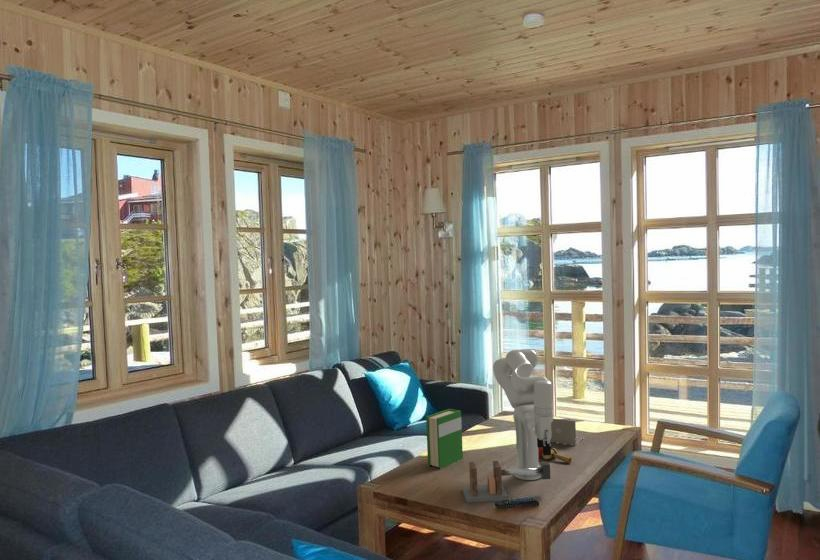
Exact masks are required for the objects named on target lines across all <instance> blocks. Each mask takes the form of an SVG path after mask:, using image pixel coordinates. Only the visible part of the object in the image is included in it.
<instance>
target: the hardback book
mask: <svg viewBox="0 0 820 560" xmlns="http://www.w3.org/2000/svg"><path fill="white" fill-rule="evenodd" d="M425 420H426V421H425V424H426V427H425V428H426V444H427V445H426V450H427V467H428V466H430V465H432V466H430V467H436V468H438V469H439V468H443V467H445V466H447V465H449V466H451V465H450V464H452V463H454V462H456V463H458V462H459V461H458V460H461V459H464V454H463V427H462V410H458V409H453V408H448V409H444V410H441V411H438V412H435V413H432V414H429V415H426V416H425ZM457 461H458V462H457ZM461 461H462V460H461ZM454 464H455V463H454ZM452 465H453V464H452ZM447 467H448V466H447ZM445 468H446V467H445ZM443 469H444V468H443Z"/></svg>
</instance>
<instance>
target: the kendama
mask: <svg viewBox="0 0 820 560" xmlns="http://www.w3.org/2000/svg"><path fill="white" fill-rule="evenodd" d="M538 455H539V458H540V459H545V460H549V459H550V458H551V459H557V460H559V461H562V462H564V463H566V464H568V465H570V464H571V463H572V457H571V456H567V455H566V456H565V455H563V454H559V453H558V450H557V449H556V448H555V447H551V455H543V447H539V448H538ZM569 463H570V464H569Z"/></svg>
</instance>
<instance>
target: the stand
mask: <svg viewBox="0 0 820 560" xmlns="http://www.w3.org/2000/svg"><path fill="white" fill-rule="evenodd" d="M468 466H469V467H468V468H469V486H470V489H471V492H472V495H473V496H478V491H477V486H478V471H477V470H478V469H477V466H476V464H475V462H474V461H470V462H468ZM492 469H493V473H492V474H493V475H494V478H495V486H496V493H497V495H498V494H502V485H503V484H502V483H503V482H502V476H501V470H502V466H501V464H500V462H499V461H498V460H493V461H492Z"/></svg>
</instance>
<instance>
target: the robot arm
mask: <svg viewBox="0 0 820 560" xmlns="http://www.w3.org/2000/svg"><path fill="white" fill-rule="evenodd" d="M538 359H539V358H538V355H537V352H536V351H535V350H534V349H531V348H524V349H512V350H510V351H508V352H507V353H506V355H505V357H503V358H499V359H496V360H495V361H494V362H493V365H492V369H493V370H492V371H493V375H494V376H493V377H494V378H495V380H496V382H497V383H498V385H499V386H500V388H502V390H503V391H504V393H505V395H506V397H507V400H508V402H509V404H510V405H511V406H510V407H512V409H514V410H513V411H512V415H513V416H512V417H513V421H514V427H515V438H516V439H515V443H516V467H517V468H516V469H524V468H541V466H540V464H539V463H540V461H539V458H540V457H539V455H538V448H539V447H543V455H551V448H552V443H551V441H550V439H551V423H552V421H553V419H554V411H553V384H552V382H551V381H550V380H548V378H547V377H546V376H543V375H539V376H537V375H536V376H531V375H533V371H534V369H535V368H536V367H537V365H538V362H539V360H538ZM533 427H534V429H533ZM545 440H547V441H546V442H545ZM513 476H514V477H515V478H516V479H518V480H519V479H520V480H524V481H535V480H540V479H542V477H541V474H526V475H513Z"/></svg>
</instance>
